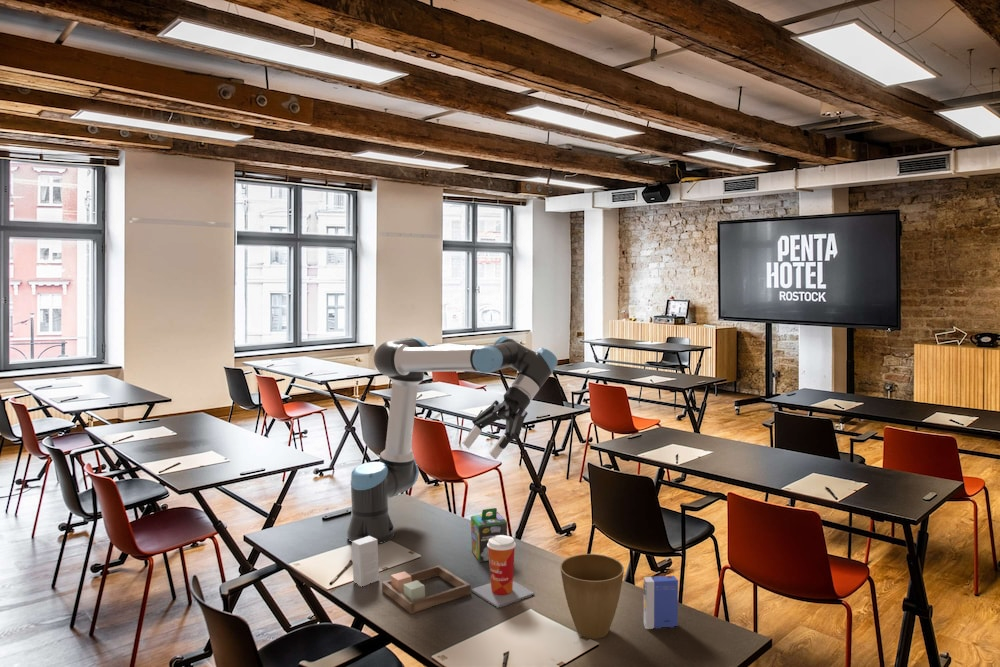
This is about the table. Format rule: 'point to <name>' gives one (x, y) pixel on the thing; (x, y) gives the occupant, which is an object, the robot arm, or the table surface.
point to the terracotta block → (400, 581)
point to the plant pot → (592, 592)
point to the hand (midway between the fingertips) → (478, 450)
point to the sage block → (414, 590)
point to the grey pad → (501, 600)
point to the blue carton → (660, 601)
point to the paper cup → (501, 563)
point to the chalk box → (486, 531)
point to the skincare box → (365, 560)
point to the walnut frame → (432, 600)
